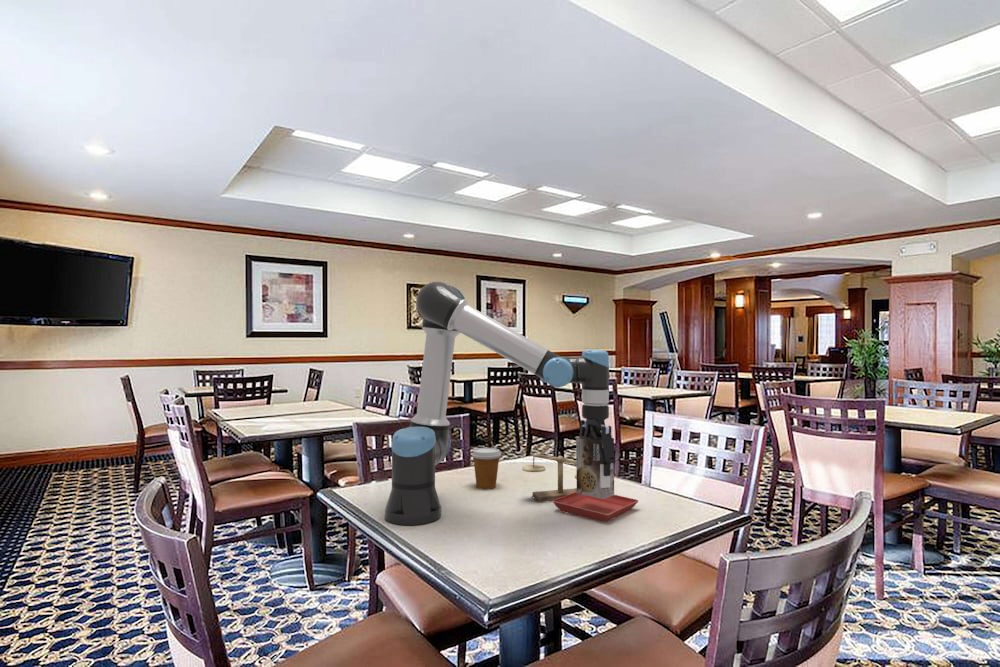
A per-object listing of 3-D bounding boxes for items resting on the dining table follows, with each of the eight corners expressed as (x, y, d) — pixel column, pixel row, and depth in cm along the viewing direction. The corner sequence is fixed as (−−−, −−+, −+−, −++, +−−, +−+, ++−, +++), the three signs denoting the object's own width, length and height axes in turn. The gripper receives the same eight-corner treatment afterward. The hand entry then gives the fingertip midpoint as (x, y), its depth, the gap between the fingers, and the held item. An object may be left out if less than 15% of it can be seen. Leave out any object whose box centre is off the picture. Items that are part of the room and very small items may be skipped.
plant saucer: (639, 510, 156) (639, 499, 156) (607, 526, 142) (608, 513, 142) (585, 498, 168) (585, 488, 168) (550, 512, 154) (550, 500, 154)
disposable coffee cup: (498, 491, 175) (498, 453, 175) (468, 489, 176) (469, 452, 177) (502, 483, 184) (502, 447, 184) (474, 482, 186) (475, 447, 186)
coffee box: (615, 495, 154) (615, 438, 155) (602, 500, 150) (602, 440, 150) (588, 489, 161) (588, 434, 161) (575, 493, 156) (575, 436, 156)
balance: (527, 504, 161) (527, 456, 161) (518, 497, 167) (518, 452, 168) (601, 496, 169) (601, 452, 169) (590, 491, 175) (590, 448, 175)
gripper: (628, 408, 146) (628, 491, 145) (588, 400, 168) (588, 472, 167) (603, 409, 143) (603, 494, 143) (565, 400, 165) (565, 474, 165)
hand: (595, 482), depth 155 cm, fingers closed on coffee box, 11 cm apart
